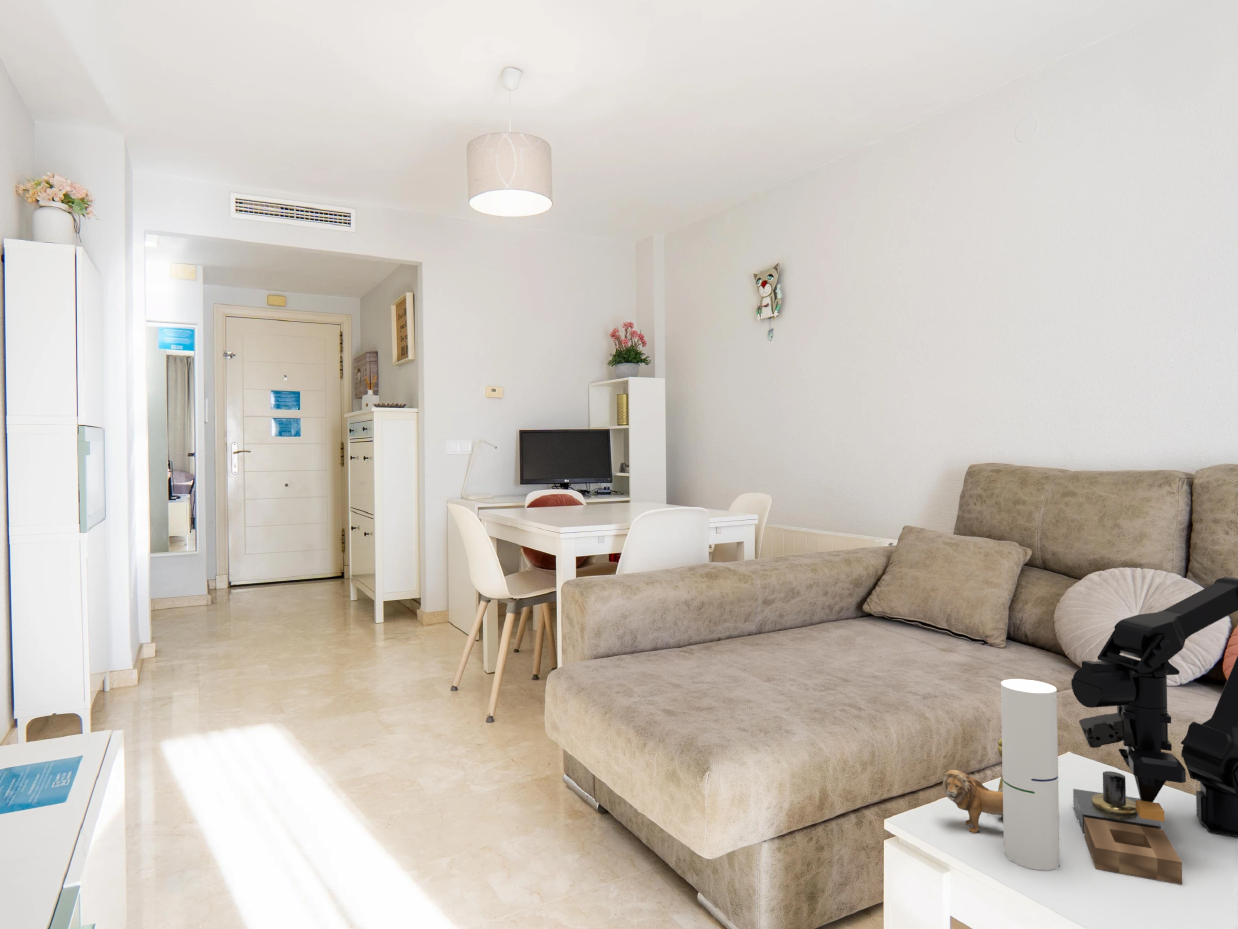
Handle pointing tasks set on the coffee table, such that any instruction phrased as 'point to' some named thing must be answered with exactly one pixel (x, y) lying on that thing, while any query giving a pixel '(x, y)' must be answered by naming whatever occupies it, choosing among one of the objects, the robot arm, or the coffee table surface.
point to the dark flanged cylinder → (1114, 795)
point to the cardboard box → (1150, 810)
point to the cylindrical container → (1030, 773)
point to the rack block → (1132, 850)
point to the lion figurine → (971, 797)
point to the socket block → (1087, 809)
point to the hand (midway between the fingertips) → (1146, 804)
